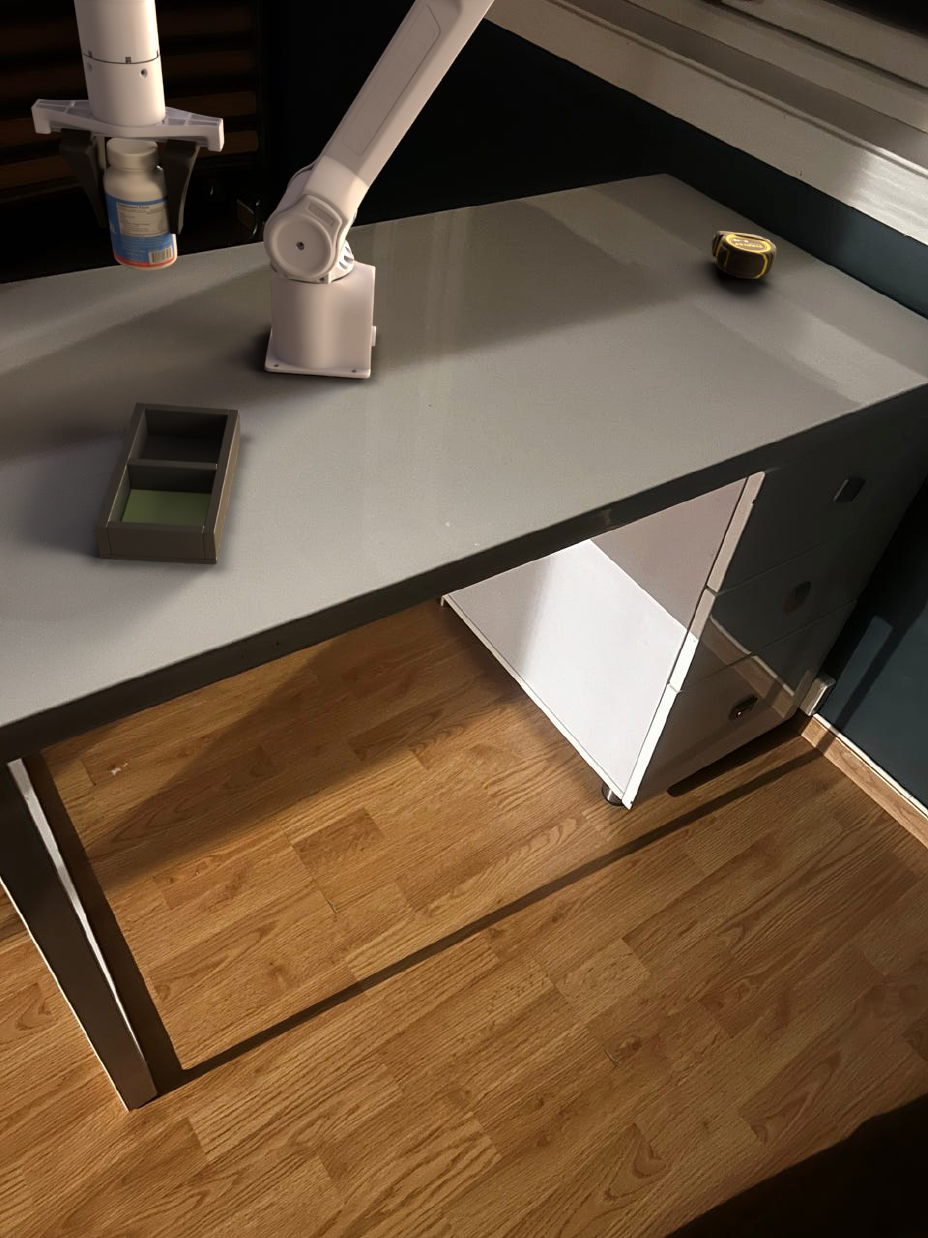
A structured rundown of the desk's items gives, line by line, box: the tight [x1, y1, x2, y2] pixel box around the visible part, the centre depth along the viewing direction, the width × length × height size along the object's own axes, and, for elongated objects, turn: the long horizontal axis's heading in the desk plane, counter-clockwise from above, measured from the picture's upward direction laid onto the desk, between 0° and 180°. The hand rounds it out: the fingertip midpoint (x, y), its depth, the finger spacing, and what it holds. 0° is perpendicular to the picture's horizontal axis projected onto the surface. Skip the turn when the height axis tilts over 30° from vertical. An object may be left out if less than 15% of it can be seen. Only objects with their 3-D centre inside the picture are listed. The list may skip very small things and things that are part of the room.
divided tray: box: [94, 402, 242, 565], centre depth 74 cm, size 8×15×3 cm, turn 3°
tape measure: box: [710, 230, 778, 280], centre depth 113 cm, size 7×7×4 cm
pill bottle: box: [103, 137, 178, 272], centre depth 83 cm, size 6×5×10 cm
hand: (142, 226), depth 84 cm, fingers closed on pill bottle, 5 cm apart
